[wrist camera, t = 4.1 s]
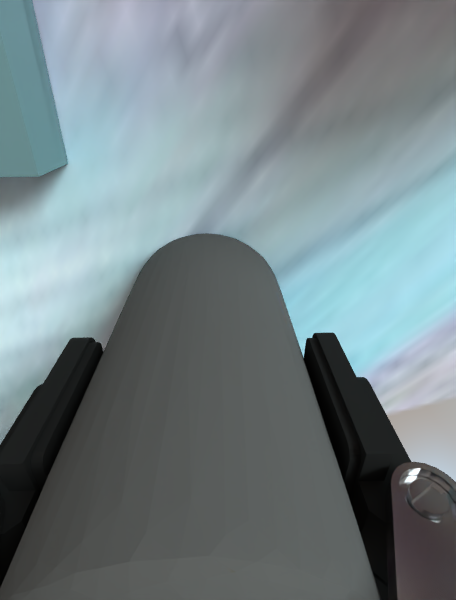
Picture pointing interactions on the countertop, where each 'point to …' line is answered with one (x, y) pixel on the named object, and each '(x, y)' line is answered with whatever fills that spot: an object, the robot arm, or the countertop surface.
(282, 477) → the bottle
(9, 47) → the tray
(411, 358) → the countertop surface
